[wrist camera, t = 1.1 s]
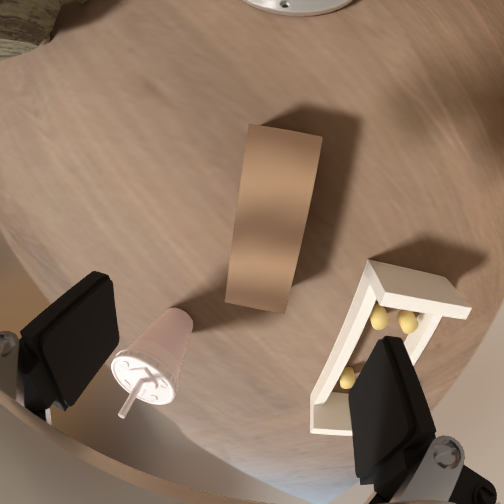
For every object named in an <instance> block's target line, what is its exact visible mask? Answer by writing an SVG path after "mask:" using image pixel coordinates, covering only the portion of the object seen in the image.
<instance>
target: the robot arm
mask: <svg viewBox="0 0 504 504" xmlns="http://www.w3.org/2000/svg"><path fill="white" fill-rule="evenodd" d="M242 1H244V2H245V3H247V4H249V5H251V6H253V7H256V8H258V9H260V10H263V11H267V12H270V13H274V14H281V15H287V16H315V15H321V14H326V13H330V12H333V11H335V10H338V9H341V8H343V7H344V6H346V5H348V4H349V3H351V2H352V1H353V0H242ZM283 7H288V8H283ZM20 333H21V336H22V338H21V339H20V340H19V339H18V337H17V335H15V334H14V333H12V332H10V331H1V332H0V504H271V503H263V502H256V501H249V500H243V499H237V498H231V497H227V496H222V495H217V494H213V493H208V492H204V491H200V490H196V489H193V488H189V487H186V486H182V485H179V484H176V483H172V482H169V481H166V480H163V479H160V478H157V477H155V476H152V475H149V474H147V473H144V472H141V471H139V470H136V469H134V468H131V467H129V466H127V465H124V464H122V463H120V462H118V461H115V460H113V459H111V458H109V457H107V456H105V455H103V454H101V453H99V452H96V451H95V450H93V449H91V448H89V447H87V446H85V445H83V444H82V443H80V442H78V441H76V440H74V439H73V438H71V437H69V436H68V435H66V434H64V433H63V432H61V431H59V430H58V429H56V428H55V427H53V426H52V423H51V415H50V406H51V405H52V403H53V404H54V405H55V406H56V407H58V408H60V409H61V410H63V411H66V409H67V408H68V406H72V405H74V404H75V402H76V401H77V399H78V398H79V397H80V395H81V394H82V392H83V391H84V390H85V388H86V387H87V385H88V384H89V383H90V381H91V380H92V379H93V377H94V376H95V375H96V373H97V372H98V370H99V369H100V368H101V366H102V365H103V364H104V363H105V361H106V360H107V359H108V357H109V356H110V355H111V353H112V352H113V351H114V349H115V348H116V347H117V345H118V343H119V331H118V324H117V317H116V309H115V300H114V290H113V282H112V281H111V280H110V278H109V276H108V275H107V274H103V273H100V272H97V271H93V272H91V273H90V274H89V275H87V276H86V277H85V278H83V279H82V280H81V281H80V282H78V283H77V284H76V285H74V286H73V287H72V288H71V289H69V290H68V291H67V292H66V293H64V294H63V295H62V296H61V297H60V298H58V299H57V300H56V301H55V302H54V303H52V304H51V305H50V306H49V307H48V308H46V309H45V310H44V311H43V312H42V313H41V314H39V315H38V316H37V317H36V318H35V319H34V320H32V321H31V322H30V323H29V324H28V325H27V326H26V327H25V328H24V329H22V330H21V331H20ZM348 401H349V409H350V417H351V426H352V436H353V446H354V458H355V471H356V476H357V477H358V478H360V485H367V484H374V492H373V493H372V494H371V496H370V497H369V498H368V500H367V501H366V502H365V503H364V504H495V503H496V499H497V493H496V489H495V487H494V486H493V484H492V483H491V482H489V481H488V480H486V479H485V478H483V477H482V476H480V475H479V474H477V473H475V472H474V471H473V470H471V469H469V468H468V467H466V466H465V465H464V459H465V455H464V450H463V447H462V446H461V444H460V443H459V442H458V441H457V440H455V439H454V438H452V437H450V436H439V437H437V438H436V437H435V432H436V428H435V425H434V422H433V419H432V416H431V413H430V410H429V407H428V404H427V401H426V398H425V396H424V393H423V390H422V388H421V385H420V382H419V380H418V377H417V374H416V372H415V369H414V367H413V364H412V362H411V359H410V357H409V355H408V352H407V350H406V348H405V345H404V343H403V341H402V339H401V338H399V337H392V336H385V337H384V338H383V339H380V340H378V342H377V343H376V345H375V347H374V349H373V351H372V353H371V355H370V356H369V358H368V360H367V362H366V364H365V366H364V367H363V369H362V371H361V373H360V374H359V376H358V378H357V379H356V381H355V383H354V385H353V386H352V388H351V390H350V392H349V396H348ZM496 504H500V503H499V502H498V503H496Z"/></svg>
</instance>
